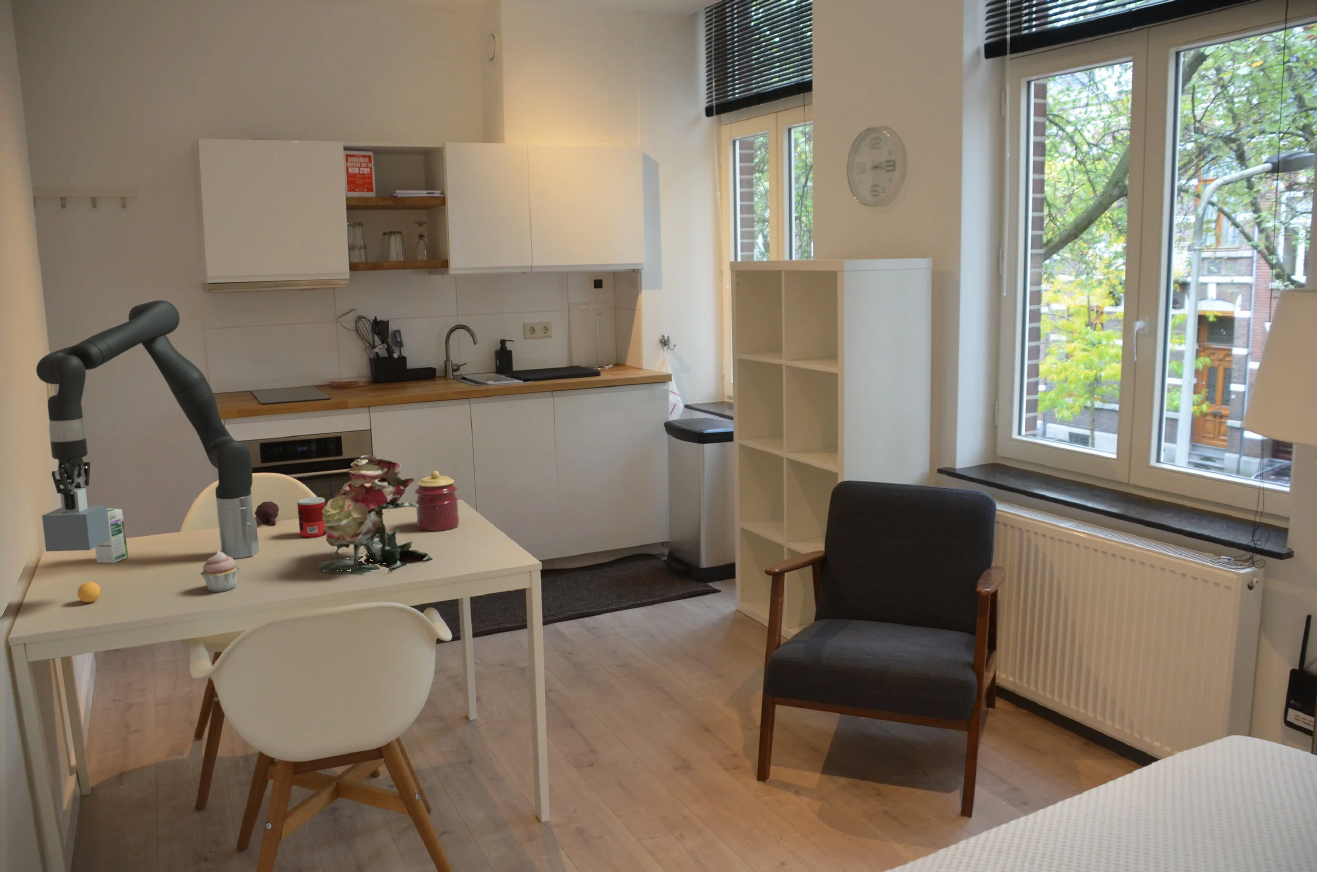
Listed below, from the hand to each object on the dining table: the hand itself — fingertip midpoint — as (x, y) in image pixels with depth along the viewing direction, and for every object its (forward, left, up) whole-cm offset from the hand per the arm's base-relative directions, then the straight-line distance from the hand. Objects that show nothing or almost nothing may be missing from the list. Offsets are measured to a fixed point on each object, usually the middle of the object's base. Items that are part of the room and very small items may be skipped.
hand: (75, 506), depth 245 cm
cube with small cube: (0, 0, -10) cm, 10 cm away
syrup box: (+10, -37, -24) cm, 46 cm away
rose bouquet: (-64, -22, -24) cm, 72 cm away
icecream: (-21, -76, -24) cm, 83 cm away
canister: (-78, -60, -24) cm, 101 cm away
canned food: (-41, -56, -24) cm, 74 cm away
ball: (-1, +1, -21) cm, 21 cm away
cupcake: (-31, -5, -24) cm, 39 cm away
